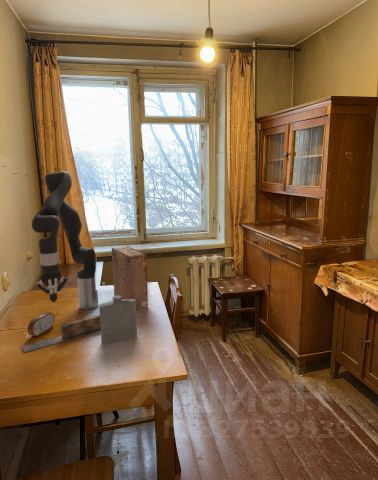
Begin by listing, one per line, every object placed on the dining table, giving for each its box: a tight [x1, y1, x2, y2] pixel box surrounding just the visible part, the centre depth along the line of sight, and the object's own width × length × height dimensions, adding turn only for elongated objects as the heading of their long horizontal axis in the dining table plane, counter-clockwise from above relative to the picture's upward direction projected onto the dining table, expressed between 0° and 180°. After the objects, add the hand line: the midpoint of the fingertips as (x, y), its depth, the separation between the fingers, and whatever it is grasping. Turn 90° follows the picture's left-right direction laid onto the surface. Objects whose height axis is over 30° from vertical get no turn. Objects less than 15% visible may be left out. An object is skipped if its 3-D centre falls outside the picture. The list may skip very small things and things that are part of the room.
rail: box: [21, 328, 101, 353], centre depth 159 cm, size 36×5×1 cm, turn 125°
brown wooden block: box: [60, 314, 101, 339], centre depth 163 cm, size 18×4×6 cm, turn 125°
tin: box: [27, 311, 55, 337], centre depth 164 cm, size 15×3×8 cm, turn 160°
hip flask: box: [98, 295, 138, 345], centre depth 155 cm, size 16×4×20 cm, turn 114°
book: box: [111, 245, 149, 310], centre depth 197 cm, size 25×9×30 cm, turn 34°
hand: (53, 301), depth 153 cm, fingers closed
